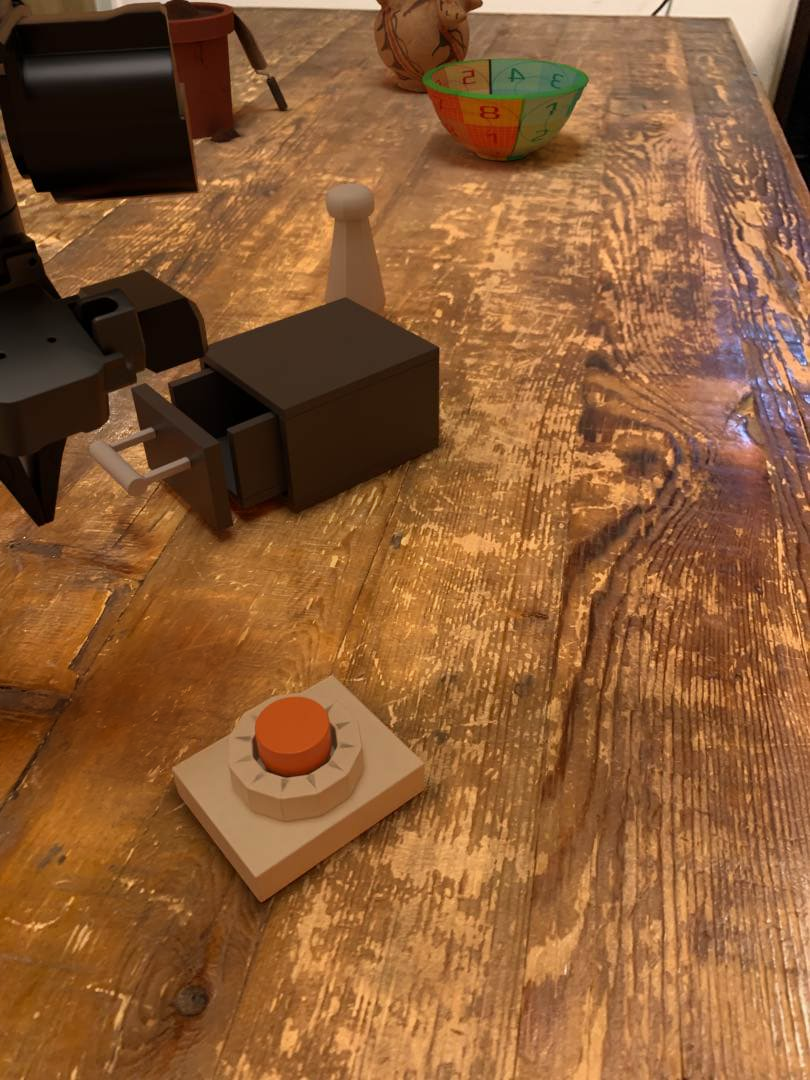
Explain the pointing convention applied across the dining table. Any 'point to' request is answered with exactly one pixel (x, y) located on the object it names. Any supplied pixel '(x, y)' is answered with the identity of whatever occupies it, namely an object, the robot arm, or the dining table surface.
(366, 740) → the control block
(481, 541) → the dining table surface
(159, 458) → the dark brown drawer
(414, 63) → the ceramic vessel
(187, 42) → the potted plant
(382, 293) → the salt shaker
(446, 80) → the bowl
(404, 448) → the drawer cabinet
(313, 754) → the button
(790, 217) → the dining table surface
